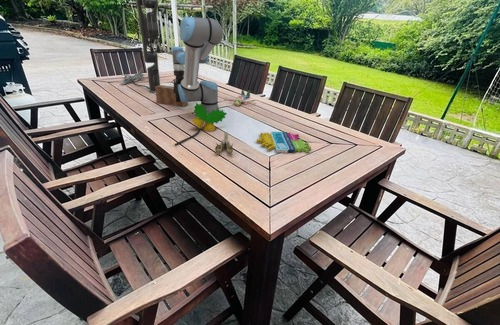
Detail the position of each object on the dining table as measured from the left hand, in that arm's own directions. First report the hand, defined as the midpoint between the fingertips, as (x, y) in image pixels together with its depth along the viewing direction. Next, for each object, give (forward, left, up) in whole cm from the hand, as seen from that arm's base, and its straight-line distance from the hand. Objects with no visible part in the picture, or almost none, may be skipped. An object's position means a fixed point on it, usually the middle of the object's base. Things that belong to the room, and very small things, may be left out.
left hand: (155, 52), depth 198 cm
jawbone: (+108, +12, -35) cm, 114 cm away
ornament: (+75, +15, -35) cm, 84 cm away
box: (+18, +6, -35) cm, 40 cm away
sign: (+110, +48, -35) cm, 124 cm away
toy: (+27, +61, -35) cm, 76 cm away
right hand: (+23, +11, -31) cm, 40 cm away
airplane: (-66, -12, -35) cm, 75 cm away
